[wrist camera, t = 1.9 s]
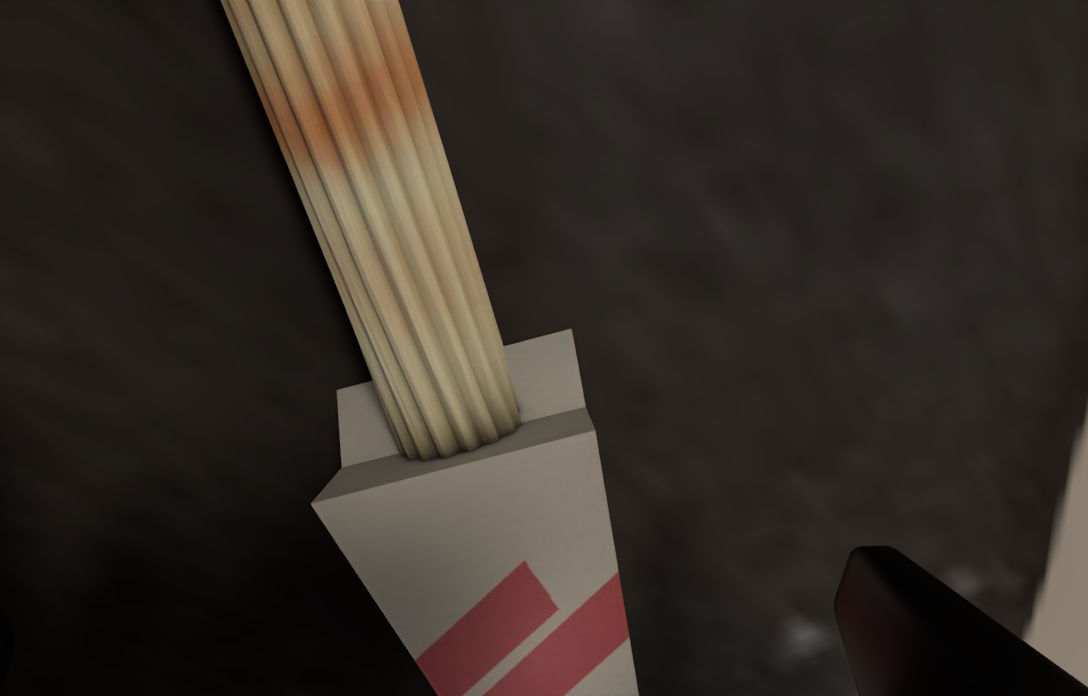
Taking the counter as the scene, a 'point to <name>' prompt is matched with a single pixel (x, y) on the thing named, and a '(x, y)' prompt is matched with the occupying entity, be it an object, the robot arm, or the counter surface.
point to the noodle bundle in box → (438, 382)
